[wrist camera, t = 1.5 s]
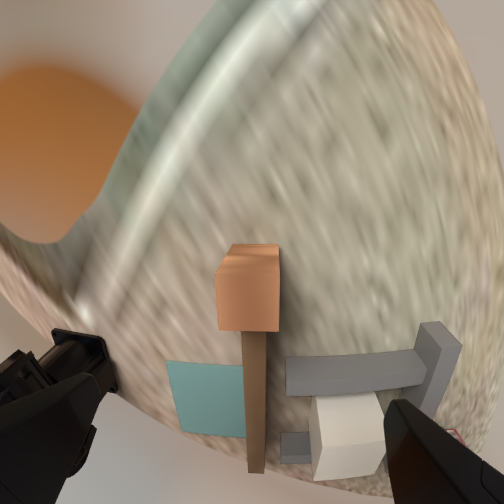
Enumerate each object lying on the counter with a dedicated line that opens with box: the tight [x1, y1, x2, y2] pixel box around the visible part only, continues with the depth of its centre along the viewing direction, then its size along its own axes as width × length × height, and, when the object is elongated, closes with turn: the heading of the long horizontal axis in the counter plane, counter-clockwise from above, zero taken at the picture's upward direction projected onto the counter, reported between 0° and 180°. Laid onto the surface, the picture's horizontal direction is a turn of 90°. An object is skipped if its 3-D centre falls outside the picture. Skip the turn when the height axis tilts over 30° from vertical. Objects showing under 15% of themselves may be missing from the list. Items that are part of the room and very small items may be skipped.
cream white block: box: [308, 391, 386, 481], centre depth 19 cm, size 5×5×7 cm
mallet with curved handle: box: [215, 244, 280, 474], centre depth 19 cm, size 3×22×6 cm, turn 1°
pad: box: [166, 360, 246, 438], centre depth 23 cm, size 6×9×1 cm
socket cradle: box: [280, 321, 462, 473], centre depth 21 cm, size 13×16×4 cm
